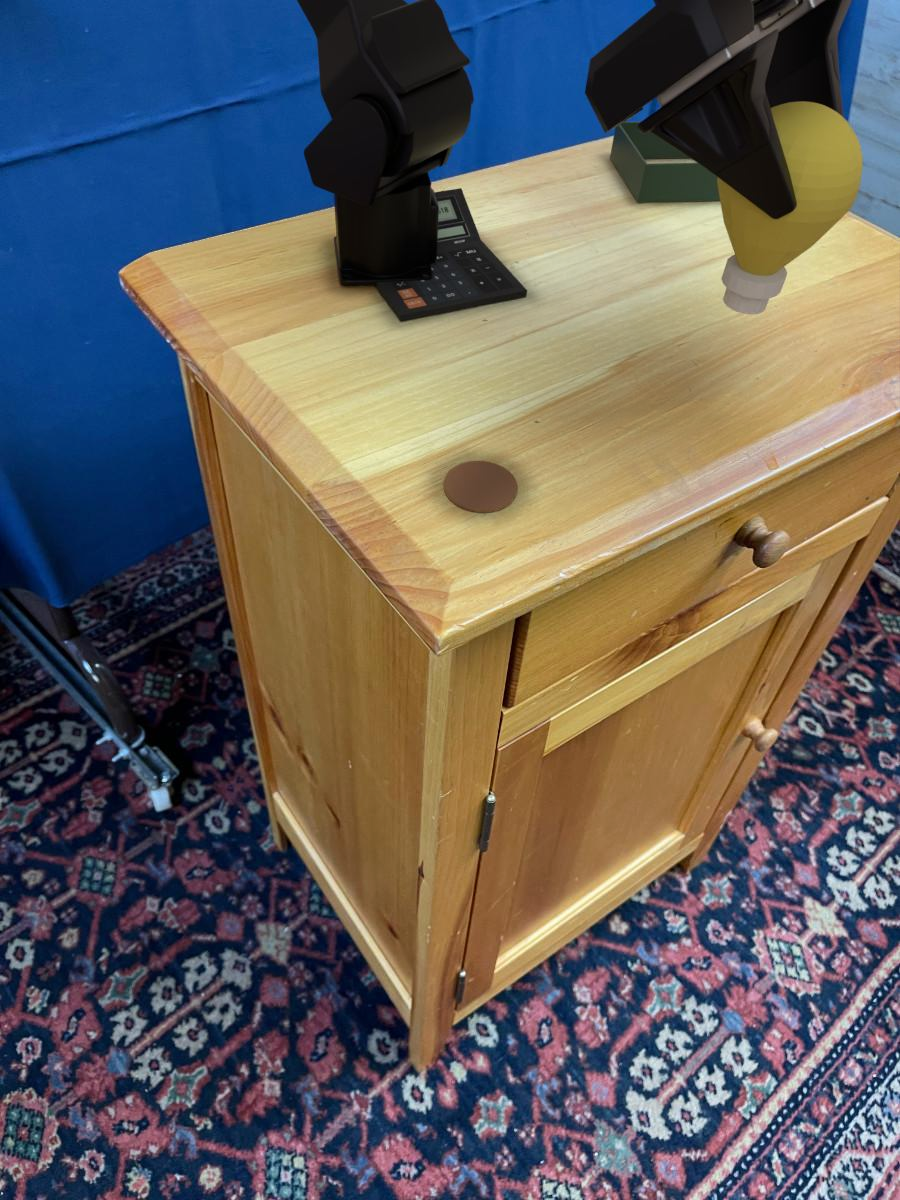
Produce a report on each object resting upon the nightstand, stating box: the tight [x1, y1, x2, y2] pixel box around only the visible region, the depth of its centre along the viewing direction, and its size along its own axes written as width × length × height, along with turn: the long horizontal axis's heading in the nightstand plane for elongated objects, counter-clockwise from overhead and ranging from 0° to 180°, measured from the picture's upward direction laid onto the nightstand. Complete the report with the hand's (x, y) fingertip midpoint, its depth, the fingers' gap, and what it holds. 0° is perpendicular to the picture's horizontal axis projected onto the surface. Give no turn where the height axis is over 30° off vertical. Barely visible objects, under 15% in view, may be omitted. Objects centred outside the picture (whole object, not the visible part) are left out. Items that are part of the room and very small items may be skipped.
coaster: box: [443, 460, 519, 513], centre depth 47 cm, size 4×4×1 cm
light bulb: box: [717, 101, 864, 315], centre depth 44 cm, size 7×7×10 cm
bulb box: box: [609, 120, 720, 204], centre depth 72 cm, size 8×8×3 cm
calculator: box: [374, 187, 528, 323], centre depth 61 cm, size 9×12×3 cm
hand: (812, 189), depth 42 cm, fingers closed on light bulb, 6 cm apart
